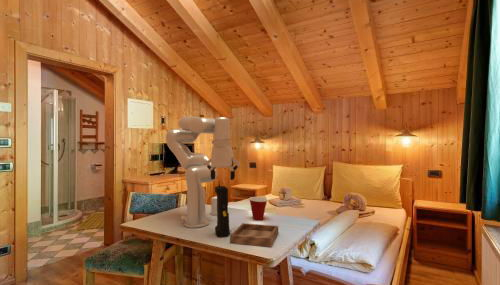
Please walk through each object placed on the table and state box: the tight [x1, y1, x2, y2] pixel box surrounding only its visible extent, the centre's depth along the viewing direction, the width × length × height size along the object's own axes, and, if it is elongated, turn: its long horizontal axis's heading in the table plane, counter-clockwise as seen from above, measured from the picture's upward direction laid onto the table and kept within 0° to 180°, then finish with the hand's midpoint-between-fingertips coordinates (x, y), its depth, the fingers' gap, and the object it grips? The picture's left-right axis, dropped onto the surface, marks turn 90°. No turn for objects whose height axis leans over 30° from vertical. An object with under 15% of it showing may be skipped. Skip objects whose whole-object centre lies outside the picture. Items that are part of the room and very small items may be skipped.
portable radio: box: [214, 181, 231, 238], centre depth 124 cm, size 8×6×25 cm
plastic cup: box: [248, 196, 269, 222], centre depth 150 cm, size 11×11×12 cm
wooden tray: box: [229, 222, 279, 248], centre depth 119 cm, size 18×18×4 cm
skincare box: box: [210, 195, 217, 216], centre depth 164 cm, size 10×6×10 cm, turn 159°
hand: (222, 179), depth 124 cm, fingers open, 9 cm apart
